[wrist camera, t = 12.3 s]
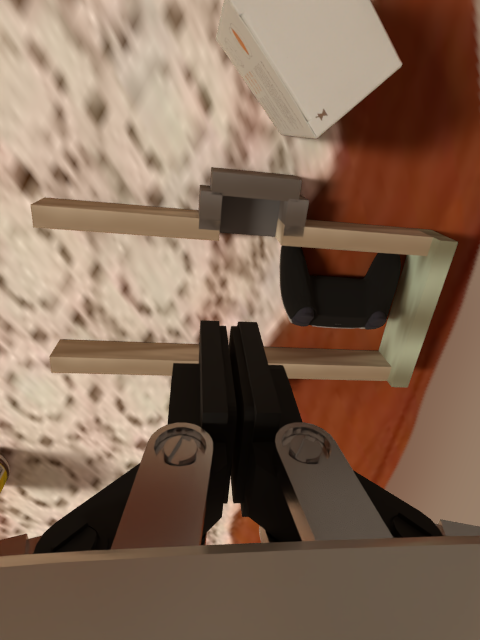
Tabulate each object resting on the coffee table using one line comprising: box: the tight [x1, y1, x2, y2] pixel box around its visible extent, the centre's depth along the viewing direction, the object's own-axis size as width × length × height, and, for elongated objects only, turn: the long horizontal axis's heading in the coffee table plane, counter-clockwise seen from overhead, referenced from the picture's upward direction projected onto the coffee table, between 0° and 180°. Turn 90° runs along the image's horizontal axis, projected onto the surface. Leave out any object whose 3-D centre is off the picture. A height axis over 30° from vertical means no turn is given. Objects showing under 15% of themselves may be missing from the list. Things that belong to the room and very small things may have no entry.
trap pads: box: [220, 196, 280, 237], centre depth 36 cm, size 18×5×1 cm, turn 174°
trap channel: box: [31, 167, 458, 387], centre depth 34 cm, size 21×33×4 cm, turn 84°
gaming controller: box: [280, 246, 401, 329], centre depth 35 cm, size 11×4×7 cm
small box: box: [216, 0, 403, 139], centre depth 24 cm, size 8×6×10 cm
